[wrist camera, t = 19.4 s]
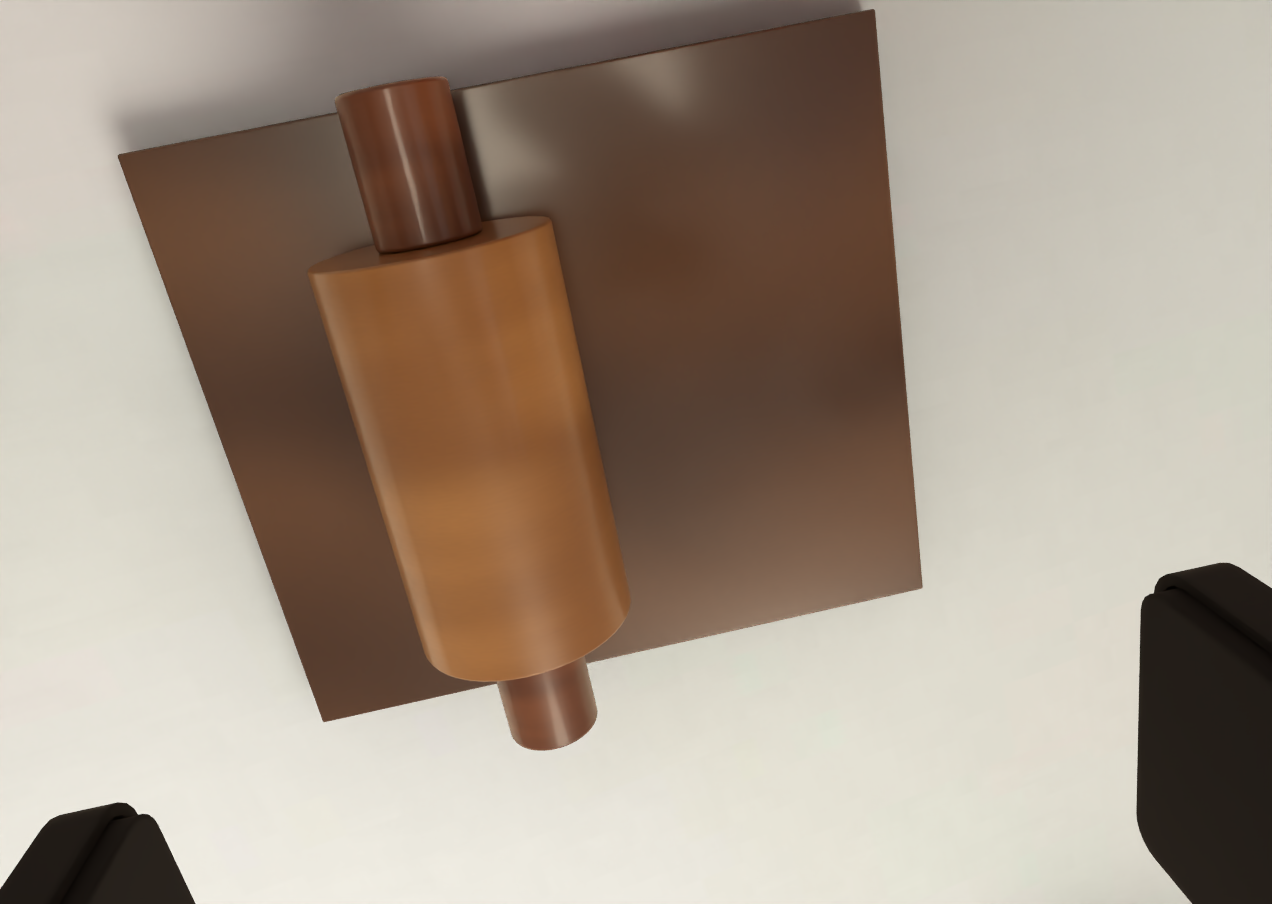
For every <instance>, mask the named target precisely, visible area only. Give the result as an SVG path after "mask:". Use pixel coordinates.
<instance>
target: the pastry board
mask: <svg viewBox="0 0 1272 904" xmlns="http://www.w3.org/2000/svg"><path fill="white" fill-rule="evenodd" d="M450 91H451V95H452V99H453V103H454V108H455V112H456V116H457V120H458V124H459V129H460V133H461V137H462V141H463V146H464V150H465V154H466V158H467V162H468V167H469V171H470V175H471V179H472V184H473V188H474V192H475V196H476V200H477V205H478V209H479V213H480V217H481V222H485V221H491V220H498V219H506V218H514V217H525V216H544V217H548V218H550V220H551V221H552V226H553V230H554V235H555V240H556V245H557V249H558V254H559V259H560V264H561V268H562V273H563V278H564V283H565V287H566V292H567V297H568V302H569V306H570V311H571V316H572V321H573V325H574V330H575V335H576V340H577V344H578V349H579V354H580V359H581V363H582V368H583V373H584V378H585V382H586V387H587V392H588V397H589V401H590V406H591V411H592V416H593V420H594V425H595V430H596V435H597V439H598V444H599V449H600V454H601V458H602V463H603V468H604V473H605V477H606V482H607V487H608V492H609V496H610V501H611V506H612V511H613V515H614V520H615V525H616V530H617V534H618V539H619V544H620V548H621V553H622V558H623V563H624V567H625V572H626V577H627V582H628V586H629V591H630V599H631V603H630V608H629V612H628V614H627V616H626V619H625V620H624V622H623V623H622V625H621V626H620V628H619V629H618V630H617V631H616V632H615V633H614V634H613V635H612V636H611V637H610V638H609V639H608V640H607V641H606V642H604V643H603V644H602V645H600V646H599V647H597V648H596V649H595V650H593V651H591V652H590V653H588V654H586V655H585V660H586V663H591V662H595V661H600V660H604V659H609V658H613V657H618V656H622V655H627V654H631V653H635V652H640V651H644V650H649V649H653V648H658V647H662V646H667V645H671V644H676V643H680V642H685V641H689V640H694V639H698V638H702V637H707V636H711V635H716V634H720V633H725V632H729V631H734V630H738V629H743V628H747V627H752V626H756V625H761V624H765V623H770V622H774V621H778V620H783V619H787V618H792V617H796V616H801V615H805V614H810V613H814V612H819V611H823V610H828V609H832V608H837V607H841V606H845V605H850V604H854V603H859V602H863V601H868V600H872V599H877V598H881V597H886V596H890V595H895V594H899V593H904V592H908V591H913V590H917V589H921V588H922V575H921V563H920V551H919V539H918V526H917V514H916V502H915V490H914V478H913V466H912V454H911V442H910V430H909V417H908V405H907V393H906V381H905V369H904V357H903V345H902V333H901V321H900V308H899V296H898V284H897V272H896V260H895V248H894V236H893V224H892V212H891V200H890V187H889V175H888V163H887V151H886V139H885V127H884V115H883V103H882V91H881V78H880V66H879V54H878V42H877V30H876V18H875V10H874V9H871V10H865V11H860V12H855V13H850V14H845V15H839V16H834V17H829V18H824V19H819V20H814V21H808V22H803V23H798V24H793V25H788V26H782V27H777V28H772V29H767V30H762V31H756V32H751V33H746V34H741V35H736V36H730V37H725V38H720V39H715V40H710V41H705V42H699V43H694V44H689V45H684V46H679V47H673V48H668V49H663V50H658V51H653V52H647V53H642V54H637V55H632V56H627V57H621V58H616V59H611V60H606V61H601V62H596V63H590V64H585V65H580V66H575V67H570V68H564V69H559V70H554V71H549V72H544V73H538V74H533V75H528V76H523V77H518V78H512V79H507V80H502V81H497V82H492V83H487V84H481V85H476V86H471V87H466V88H461V89H455V90H450ZM118 159H119V161H120V164H121V167H122V170H123V172H124V175H125V178H126V181H127V183H128V186H129V189H130V192H131V194H132V197H133V200H134V203H135V205H136V208H137V211H138V214H139V216H140V219H141V222H142V225H143V227H144V230H145V233H146V236H147V238H148V241H149V244H150V247H151V249H152V252H153V255H154V258H155V260H156V263H157V266H158V269H159V271H160V274H161V277H162V280H163V282H164V285H165V288H166V291H167V293H168V296H169V299H170V302H171V304H172V307H173V310H174V313H175V315H176V318H177V321H178V324H179V326H180V329H181V332H182V335H183V337H184V340H185V343H186V346H187V348H188V351H189V354H190V357H191V359H192V362H193V365H194V368H195V370H196V373H197V376H198V379H199V381H200V384H201V387H202V390H203V392H204V395H205V398H206V401H207V403H208V406H209V409H210V412H211V414H212V417H213V420H214V423H215V426H216V428H217V431H218V434H219V437H220V439H221V442H222V445H223V448H224V450H225V453H226V456H227V459H228V461H229V464H230V467H231V470H232V472H233V475H234V478H235V481H236V483H237V486H238V489H239V492H240V494H241V497H242V500H243V503H244V505H245V508H246V511H247V514H248V516H249V519H250V522H251V525H252V527H253V530H254V533H255V536H256V538H257V541H258V544H259V547H260V549H261V552H262V555H263V558H264V560H265V563H266V566H267V569H268V571H269V574H270V577H271V580H272V582H273V585H274V588H275V591H276V593H277V596H278V599H279V602H280V604H281V607H282V610H283V613H284V615H285V618H286V621H287V624H288V626H289V629H290V632H291V635H292V637H293V640H294V643H295V646H296V648H297V651H298V654H299V657H300V659H301V662H302V665H303V668H304V670H305V673H306V676H307V679H308V681H309V684H310V687H311V690H312V692H313V695H314V698H315V701H316V703H317V706H318V709H319V712H320V714H321V717H322V720H323V722H327V721H332V720H336V719H341V718H345V717H349V716H354V715H358V714H363V713H367V712H372V711H376V710H381V709H385V708H390V707H394V706H399V705H403V704H408V703H412V702H417V701H421V700H425V699H430V698H434V697H439V696H443V695H448V694H452V693H457V692H461V691H466V690H470V689H475V688H479V687H484V686H488V685H492V684H497V681H490V682H482V681H470V680H464V679H459V678H455V677H452V676H449V675H447V674H445V673H443V672H441V671H439V670H438V669H437V668H435V667H434V666H433V665H432V664H431V663H430V662H429V661H428V659H427V657H426V655H425V653H424V650H423V647H422V643H421V640H420V637H419V634H418V630H417V627H416V624H415V621H414V617H413V614H412V611H411V608H410V604H409V601H408V598H407V595H406V592H405V588H404V585H403V582H402V579H401V575H400V572H399V569H398V566H397V562H396V559H395V556H394V553H393V549H392V546H391V543H390V540H389V536H388V533H387V530H386V527H385V523H384V520H383V517H382V514H381V510H380V507H379V504H378V501H377V497H376V494H375V491H374V488H373V484H372V481H371V478H370V475H369V472H368V468H367V465H366V462H365V459H364V455H363V452H362V449H361V446H360V442H359V439H358V436H357V433H356V429H355V426H354V423H353V420H352V416H351V413H350V410H349V407H348V403H347V400H346V397H345V394H344V390H343V387H342V384H341V381H340V377H339V374H338V371H337V368H336V364H335V361H334V358H333V355H332V352H331V348H330V345H329V342H328V339H327V335H326V332H325V329H324V326H323V322H322V319H321V316H320V313H319V309H318V306H317V303H316V300H315V296H314V293H313V290H312V287H311V283H310V280H309V277H308V274H307V272H308V269H309V268H310V267H311V266H313V265H315V264H316V263H318V262H321V261H323V260H326V259H328V258H331V257H334V256H337V255H340V254H343V253H346V252H350V251H353V250H357V249H360V248H364V247H367V246H371V245H374V241H373V237H372V234H371V230H370V227H369V223H368V220H367V216H366V212H365V209H364V205H363V202H362V198H361V195H360V191H359V187H358V184H357V180H356V177H355V173H354V170H353V166H352V162H351V159H350V155H349V152H348V148H347V144H346V141H345V137H344V134H343V130H342V127H341V123H340V119H339V116H338V112H336V113H331V114H326V115H320V116H315V117H310V118H305V119H300V120H295V121H289V122H284V123H279V124H274V125H269V126H263V127H258V128H253V129H248V130H243V131H237V132H232V133H227V134H222V135H217V136H211V137H206V138H201V139H196V140H191V141H186V142H180V143H175V144H170V145H165V146H160V147H154V148H149V149H144V150H139V151H134V152H128V153H123V154H119V155H118Z"/></svg>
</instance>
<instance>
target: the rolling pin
mask: <svg viewBox="0 0 1272 904" xmlns="http://www.w3.org/2000/svg"><path fill="white" fill-rule="evenodd" d="M335 105H336V109H337V112H338V116H339V119H340V123H341V127H342V130H343V134H344V137H345V141H346V144H347V148H348V152H349V155H350V159H351V162H352V166H353V170H354V173H355V177H356V180H357V184H358V187H359V191H360V195H361V198H362V202H363V205H364V209H365V212H366V216H367V220H368V223H369V227H370V230H371V234H372V237H373V241H374V245H371V246H367V247H364V248H360V249H357V250H353V251H350V252H346V253H343V254H340V255H337V256H334V257H331V258H328V259H326V260H323V261H321V262H318V263H316V264H315V265H313V266H311V267H310V268H309V269H308V272H307V274H308V277H309V280H310V283H311V287H312V290H313V293H314V296H315V300H316V303H317V306H318V309H319V313H320V316H321V319H322V322H323V326H324V329H325V332H326V335H327V339H328V342H329V345H330V348H331V352H332V355H333V358H334V361H335V364H336V368H337V371H338V374H339V377H340V381H341V384H342V387H343V390H344V394H345V397H346V400H347V403H348V407H349V410H350V413H351V416H352V420H353V423H354V426H355V429H356V433H357V436H358V439H359V442H360V446H361V449H362V452H363V455H364V459H365V462H366V465H367V468H368V472H369V475H370V478H371V481H372V484H373V488H374V491H375V494H376V497H377V501H378V504H379V507H380V510H381V514H382V517H383V520H384V523H385V527H386V530H387V533H388V536H389V540H390V543H391V546H392V549H393V553H394V556H395V559H396V562H397V566H398V569H399V572H400V575H401V579H402V582H403V585H404V588H405V592H406V595H407V598H408V601H409V604H410V608H411V611H412V614H413V617H414V621H415V624H416V627H417V630H418V634H419V637H420V640H421V643H422V647H423V650H424V653H425V655H426V657H427V659H428V661H429V662H430V663H431V664H432V665H433V666H434V667H435V668H437V669H438V670H439V671H441V672H443V673H445V674H447V675H449V676H452V677H455V678H459V679H464V680H470V681H482V682H490V681H497V685H498V688H499V692H500V695H501V699H502V702H503V706H504V710H505V713H506V717H507V720H508V724H509V728H510V731H511V735H512V737H513V739H514V740H515V741H516V742H517V743H518V744H519V745H521V746H522V747H524V748H527V749H531V750H552V749H557V748H561V747H564V746H567V745H569V744H571V743H573V742H575V741H577V740H578V739H580V738H581V737H583V736H584V735H585V734H586V733H587V732H588V731H589V730H590V729H591V728H592V727H593V725H594V723H595V721H596V718H597V707H596V703H595V698H594V694H593V690H592V686H591V681H590V677H589V673H588V669H587V665H586V660H585V655H586V654H588V653H590V652H591V651H593V650H595V649H596V648H597V647H599V646H600V645H602V644H603V643H604V642H606V641H607V640H608V639H609V638H610V637H611V636H612V635H613V634H614V633H615V632H616V631H617V630H618V629H619V628H620V626H621V625H622V623H623V622H624V620H625V619H626V616H627V614H628V612H629V608H630V603H631V599H630V591H629V586H628V582H627V577H626V572H625V567H624V563H623V558H622V553H621V548H620V544H619V539H618V534H617V530H616V525H615V520H614V515H613V511H612V506H611V501H610V496H609V492H608V487H607V482H606V477H605V473H604V468H603V463H602V458H601V454H600V449H599V444H598V439H597V435H596V430H595V425H594V420H593V416H592V411H591V406H590V401H589V397H588V392H587V387H586V382H585V378H584V373H583V368H582V363H581V359H580V354H579V349H578V344H577V340H576V335H575V330H574V325H573V321H572V316H571V311H570V306H569V302H568V297H567V292H566V287H565V283H564V278H563V273H562V268H561V264H560V259H559V254H558V249H557V245H556V240H555V235H554V230H553V226H552V221H551V220H550V218H548V217H544V216H525V217H514V218H506V219H498V220H491V221H485V222H481V217H480V213H479V209H478V205H477V200H476V196H475V192H474V188H473V184H472V179H471V175H470V171H469V167H468V162H467V158H466V154H465V150H464V146H463V141H462V137H461V133H460V129H459V124H458V120H457V116H456V112H455V108H454V103H453V99H452V95H451V91H450V86H449V82H448V80H447V79H446V77H441V76H434V77H425V78H417V79H411V80H404V81H398V82H393V83H387V84H382V85H377V86H372V87H367V88H363V89H359V90H354V91H350V92H347V93H343V94H341V95H339V96H337V97H336V98H335Z"/></svg>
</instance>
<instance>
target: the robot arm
mask: <svg viewBox="0 0 1272 904" xmlns="http://www.w3.org/2000/svg"><path fill="white" fill-rule="evenodd" d="M1137 822H1138V826H1139V830H1140V833H1141V835H1142V838H1143V840H1144V842H1145V844H1146V846H1147V848H1148V850H1149V851H1150V853H1151V854H1152V855H1153V857H1154V858H1155V859H1156V861H1157V862H1158V863H1159V864H1160V865H1161V867H1162V868H1163V869H1164V870H1165V871H1166V873H1167V874H1168V875H1169V876H1170V877H1171V879H1172V880H1173V881H1174V882H1175V883H1176V885H1177V886H1178V887H1179V888H1180V889H1181V891H1182V892H1183V893H1184V894H1185V895H1186V897H1187V898H1188V899H1189V900H1190V901H1191V903H1192V904H1272V588H1270V587H1269V586H1267V585H1266V584H1264V583H1263V582H1261V581H1260V580H1258V579H1257V578H1255V577H1253V576H1252V575H1250V574H1249V573H1247V572H1246V571H1244V570H1243V569H1241V568H1239V567H1237V566H1235V565H1233V564H1230V563H1217V564H1212V565H1208V566H1203V567H1199V568H1194V569H1189V570H1185V571H1180V572H1176V573H1171V574H1166V575H1165V576H1163V577H1161V578H1159V580H1158V582H1157V584H1156V586H1155V590H1154V594H1150V595H1148V596H1146V597H1145V598H1144V600H1143V602H1142V606H1141V626H1140V673H1139V720H1138V767H1137ZM0 904H195V902H194V900H193V898H192V896H191V893H190V891H189V889H188V887H187V885H186V883H185V881H184V879H183V876H182V874H181V872H180V870H179V868H178V866H177V864H176V862H175V860H174V857H173V855H172V853H171V851H170V849H169V847H168V845H167V843H166V841H165V838H164V836H163V834H162V832H161V830H160V828H159V826H158V824H157V823H156V821H155V819H154V818H152V817H151V816H150V815H148V814H140V815H138V814H137V813H136V811H135V809H134V808H132V807H131V806H130V805H128V804H127V803H114V804H109V805H104V806H100V807H95V808H91V809H86V810H81V811H77V812H72V813H68V814H63V815H59V816H57V817H55V818H53V819H50V820H49V821H48V823H47V824H46V825H45V826H44V827H43V828H42V829H41V831H40V832H39V834H38V835H37V836H36V838H35V839H34V841H33V842H32V844H31V845H30V847H29V848H28V850H27V851H26V853H25V854H24V855H23V857H22V858H21V860H20V861H19V863H18V864H17V866H16V867H15V869H14V870H13V871H12V873H11V874H10V876H9V877H8V879H7V880H6V882H5V883H4V885H3V886H2V887H1V889H0Z"/></svg>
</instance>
